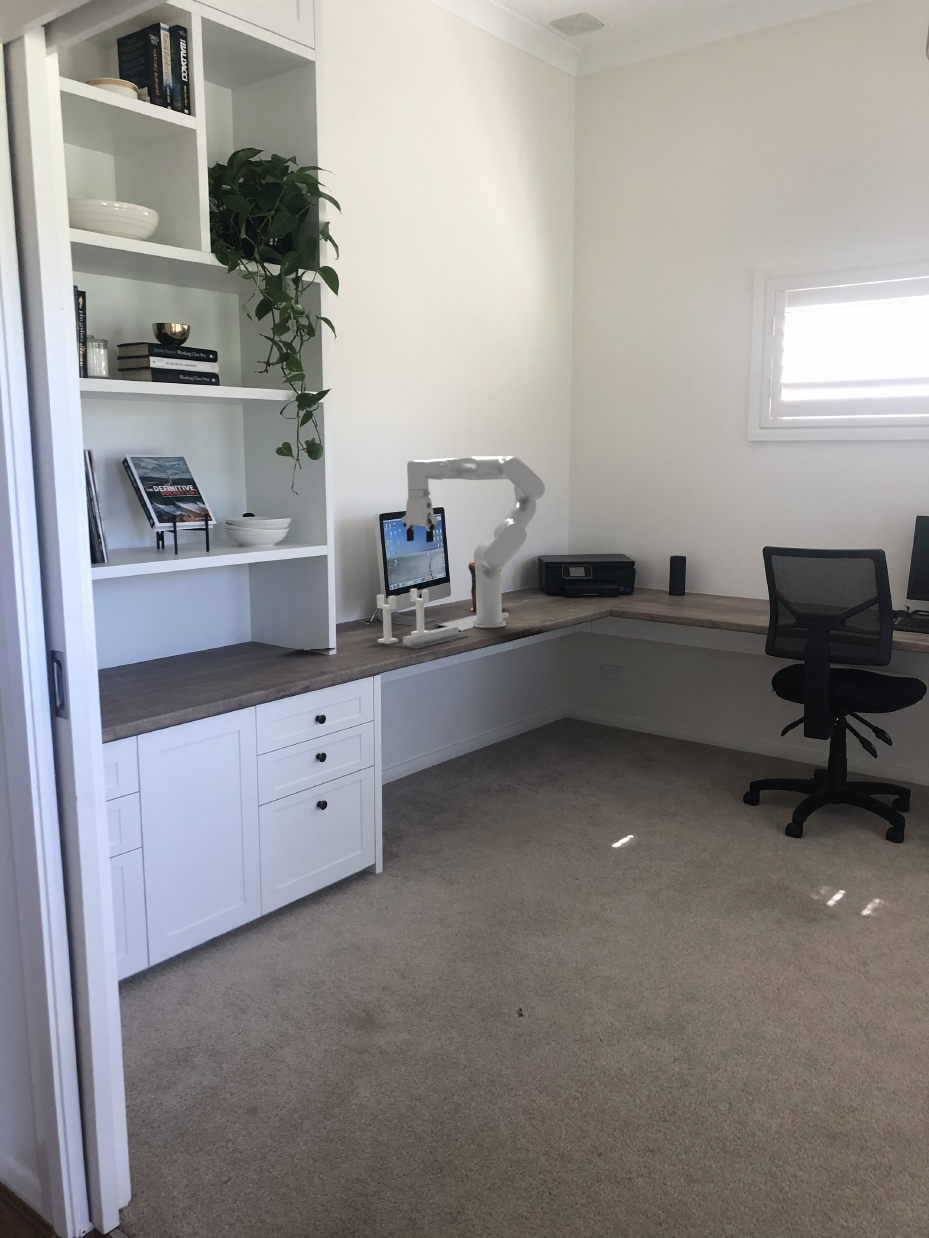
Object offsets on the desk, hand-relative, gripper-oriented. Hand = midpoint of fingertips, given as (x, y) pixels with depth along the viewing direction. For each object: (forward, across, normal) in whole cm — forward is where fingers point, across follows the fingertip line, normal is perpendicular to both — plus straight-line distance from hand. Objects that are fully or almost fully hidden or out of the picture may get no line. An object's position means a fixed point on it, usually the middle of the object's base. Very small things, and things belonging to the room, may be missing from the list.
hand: (420, 541), depth 348 cm
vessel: (+34, +11, -51) cm, 62 cm away
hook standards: (+33, -4, +14) cm, 36 cm away
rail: (+33, -17, +14) cm, 39 cm away
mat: (+33, -17, +14) cm, 40 cm away
